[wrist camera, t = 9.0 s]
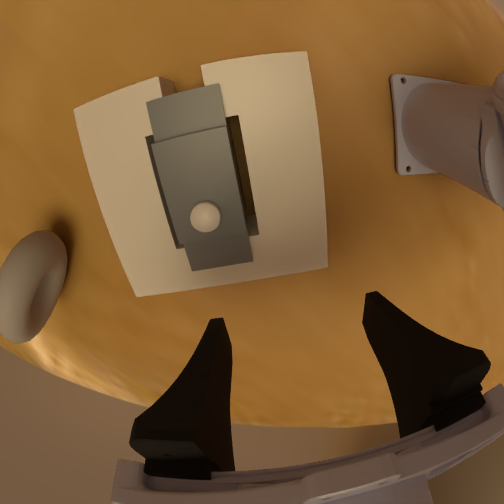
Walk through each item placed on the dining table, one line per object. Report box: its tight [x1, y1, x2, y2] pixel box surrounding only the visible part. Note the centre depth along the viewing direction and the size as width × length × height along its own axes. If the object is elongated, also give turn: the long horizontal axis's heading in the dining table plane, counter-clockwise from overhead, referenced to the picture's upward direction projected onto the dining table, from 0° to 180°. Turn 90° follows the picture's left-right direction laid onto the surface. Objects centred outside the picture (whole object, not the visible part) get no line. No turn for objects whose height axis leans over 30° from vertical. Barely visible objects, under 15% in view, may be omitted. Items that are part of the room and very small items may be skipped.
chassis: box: [74, 51, 328, 297], centre depth 17 cm, size 14×14×4 cm
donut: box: [0, 231, 67, 344], centre depth 17 cm, size 10×4×10 cm, turn 149°
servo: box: [146, 83, 253, 271], centre depth 16 cm, size 4×11×6 cm, turn 10°
